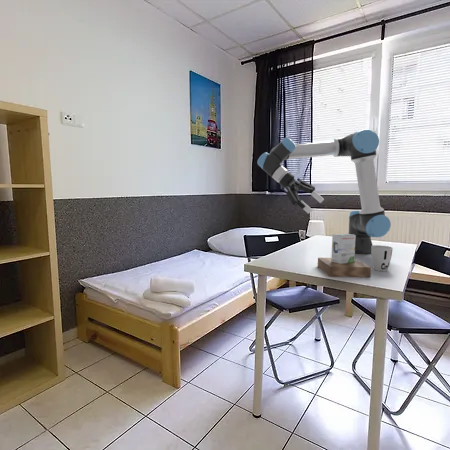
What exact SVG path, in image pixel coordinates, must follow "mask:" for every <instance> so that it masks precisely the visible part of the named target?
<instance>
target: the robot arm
mask: <svg viewBox="0 0 450 450" xmlns="http://www.w3.org/2000/svg"><path fill="white" fill-rule="evenodd" d="M379 145H380V138H379V136H378V134H377V133H376V132H375V131H374V130H373V129H369V128H366V129H365V128H364V129H360V130H357V131H355V132H353V133H349V134H348V135H345V136H342V137H337V138H334V139H333V140H326V141H318V142H317V141H315V142H307V143H297V144H296V143H295V142H294V141H293V140H292V139H291V138H289V137H287V136H286V137H284V138H283V139H282V140H281V141H280V142H279V143H278V144H277V145H275V146H274V147H272V149H271V150H270V152H269V153H268V152H266V151H265V152H263V153H262V154H261V155H260V156H259V157H258V159H257V161H256V162H257V166H258V167H260V168H261V169H262V170H263V171H264V172H265V173H266V174H267V175H268V176H270V177H271V178H272V179H274V181H276V182H277V183H278V185H280V186H281V187H282V188H284V189H283V191H284V193H285V194H286V196H287V198H288V200H290V203H291V204H292V205H293V206H299V207H300V208H301V209H302V210H303V211H305V212H306V213H307V214H308V215H309V214H310V213H311V212H312V210H313V209H312V208H311V207H310V205H308V204H307V203H305V202H304V200H303V199H301V198H300V196H299V192H298V191H302V192H305V193H309V194H310V195H311V196H312V197H313V198H314V199H315V200H316V201H317V202H318V203H320V204H322V202H324V200H325V199H324V197H322V196H321V195H320V193H318V192H317V191H316V187H315V186H313V185H312V184H310V183H308V182H307V181H304V180H302V179H300V178H299V177H298V178H297V179H295V175H294V174H293V173H292V172H290V171H289V170H288V169H287V168H286V167H284V166H283V165H282V163H283V162H284V161H286V160H295V159H296V160H297V159H307V158H315V157H325V156H326V157H327V156H333V157H334V158H337V157H350V160H351V161H352V163H354V166H355V171H356V173H355V174H356V177H357V178H356V179H357V186H358V192H359V193H358V194H359V199H360V205H361V209H360V210H359V209H358V210H351V211H350V212H349V216H348V220H349V221H348V234H354V235H356V238H355V254H363V255H365V254H366V255H367V254H371V246H373V242H372V238H382V237H384V236H386V235H387V234H388V232H390V229H391V226H392V225H391V219H389V217H388V216H387V215H386V213H385V209H384V208H383V206H382V207H381V203H380V196H379V188H378V187H379V186H378V182H377V174H376V167H375V161H374V160H375V158H376V157H377V148H378V147H379Z"/></svg>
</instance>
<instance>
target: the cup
mask: <svg viewBox="0 0 450 450" xmlns="http://www.w3.org/2000/svg"><path fill="white" fill-rule="evenodd" d="M372 245H373V244H372ZM393 249H394V248H393V246H388V245H381V244H380V245H375V244H374V245H373V246H371V253H370V254H371V262H372V264H371V265H372V266H373V270H375V271H378V270H381V271H380V272H387V271H388V269H389V267H390V264H391V261H392V256H393ZM386 270H387V271H386Z"/></svg>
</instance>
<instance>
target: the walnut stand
mask: <svg viewBox="0 0 450 450" xmlns="http://www.w3.org/2000/svg"><path fill="white" fill-rule="evenodd" d="M317 267H318V268H319V269H320V270H321V271H322V272H324V273H325V274H326V275H327V276H328V277H332V278H333V277H337V278H344V277H345V278H369V277H368V276H370V277H371V272H372V267H371V266H369V265H368V264H366V263H364V262H362V261H360V260H358V259H356V258H355V262H353V263H344V264H339V263H335V262H332V261H331V257H318V258H317Z"/></svg>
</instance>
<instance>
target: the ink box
mask: <svg viewBox="0 0 450 450" xmlns="http://www.w3.org/2000/svg"><path fill="white" fill-rule="evenodd" d="M355 238H356V235H354V234H349V233H333V234H332V238H331V239H332V240H331V255H330V256H331V257H330V258H331V261H332V262H335V263H339V264H344V263H353V262H355V259H356V258H355V257H356V253H355Z"/></svg>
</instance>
